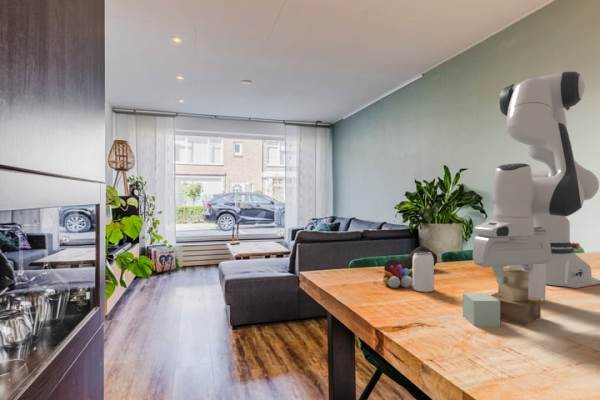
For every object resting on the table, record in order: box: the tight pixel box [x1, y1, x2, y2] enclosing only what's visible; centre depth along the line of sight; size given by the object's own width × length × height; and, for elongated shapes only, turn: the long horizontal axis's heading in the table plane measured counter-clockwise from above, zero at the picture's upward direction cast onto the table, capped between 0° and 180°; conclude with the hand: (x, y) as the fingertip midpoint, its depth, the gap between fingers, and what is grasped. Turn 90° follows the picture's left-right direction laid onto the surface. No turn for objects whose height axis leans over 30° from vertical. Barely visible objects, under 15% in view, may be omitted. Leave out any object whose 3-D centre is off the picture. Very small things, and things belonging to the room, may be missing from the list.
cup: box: [506, 264, 547, 304], centre depth 97 cm, size 11×11×17 cm
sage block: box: [462, 292, 501, 327], centre depth 80 cm, size 6×6×6 cm
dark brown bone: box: [383, 246, 438, 273], centre depth 132 cm, size 11×10×28 cm
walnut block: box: [490, 292, 542, 327], centre depth 83 cm, size 9×9×5 cm
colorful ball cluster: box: [382, 265, 413, 289], centre depth 112 cm, size 8×10×7 cm
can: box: [412, 252, 435, 293], centre depth 107 cm, size 6×6×12 cm
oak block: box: [497, 267, 528, 301], centre depth 83 cm, size 4×4×7 cm
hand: (512, 282), depth 83 cm, fingers open, 5 cm apart
